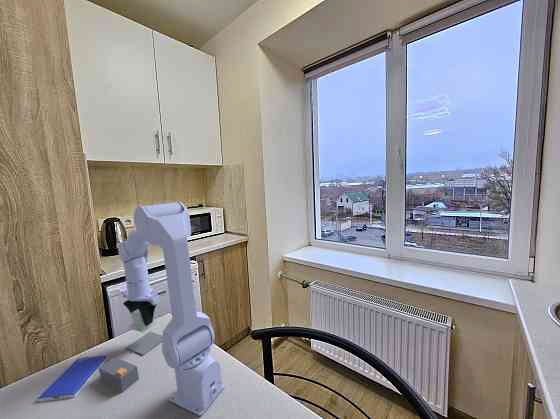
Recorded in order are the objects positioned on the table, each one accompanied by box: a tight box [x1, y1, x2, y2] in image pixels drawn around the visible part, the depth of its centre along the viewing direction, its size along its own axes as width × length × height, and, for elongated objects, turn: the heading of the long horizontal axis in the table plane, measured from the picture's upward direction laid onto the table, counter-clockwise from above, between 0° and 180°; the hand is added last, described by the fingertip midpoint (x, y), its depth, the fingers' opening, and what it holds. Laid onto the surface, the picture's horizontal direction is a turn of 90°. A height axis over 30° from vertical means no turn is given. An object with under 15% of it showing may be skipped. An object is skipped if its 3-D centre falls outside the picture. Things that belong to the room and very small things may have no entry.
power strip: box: [98, 356, 140, 393], centre depth 60 cm, size 9×4×4 cm, turn 64°
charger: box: [128, 309, 156, 333], centre depth 72 cm, size 4×6×6 cm
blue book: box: [37, 354, 109, 403], centre depth 62 cm, size 2×8×12 cm
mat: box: [125, 331, 163, 356], centre depth 74 cm, size 8×8×1 cm
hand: (143, 322), depth 73 cm, fingers closed on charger, 4 cm apart
